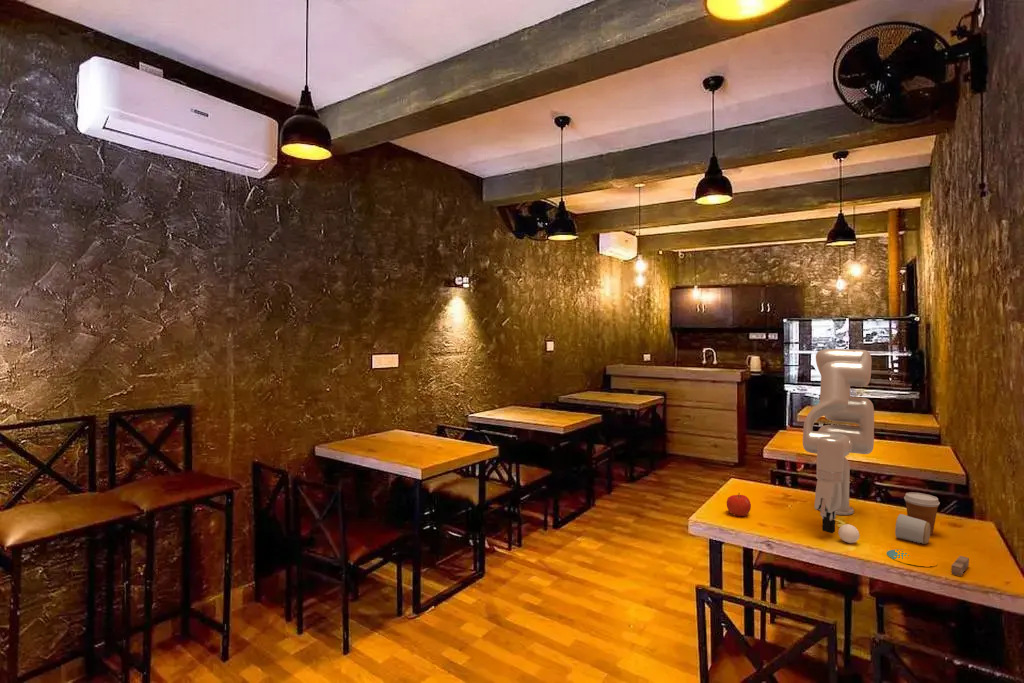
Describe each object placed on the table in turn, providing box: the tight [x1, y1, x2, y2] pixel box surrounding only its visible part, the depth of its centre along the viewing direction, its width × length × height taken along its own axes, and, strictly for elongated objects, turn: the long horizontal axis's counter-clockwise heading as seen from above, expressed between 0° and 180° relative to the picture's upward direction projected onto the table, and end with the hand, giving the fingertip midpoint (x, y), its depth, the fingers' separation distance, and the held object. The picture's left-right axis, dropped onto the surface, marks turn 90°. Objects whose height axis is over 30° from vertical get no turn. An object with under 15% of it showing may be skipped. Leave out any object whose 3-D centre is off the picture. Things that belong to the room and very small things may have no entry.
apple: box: [726, 492, 752, 517], centre depth 196 cm, size 8×8×8 cm
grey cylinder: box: [894, 513, 931, 545], centre depth 174 cm, size 11×8×8 cm
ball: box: [838, 523, 860, 544], centre depth 171 cm, size 6×6×6 cm
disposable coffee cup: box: [903, 492, 941, 536], centre depth 180 cm, size 10×10×12 cm
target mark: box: [886, 549, 909, 560], centre depth 159 cm, size 12×12×1 cm
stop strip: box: [950, 555, 970, 577], centre depth 151 cm, size 10×2×2 cm, turn 130°
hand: (828, 531), depth 176 cm, fingers closed
